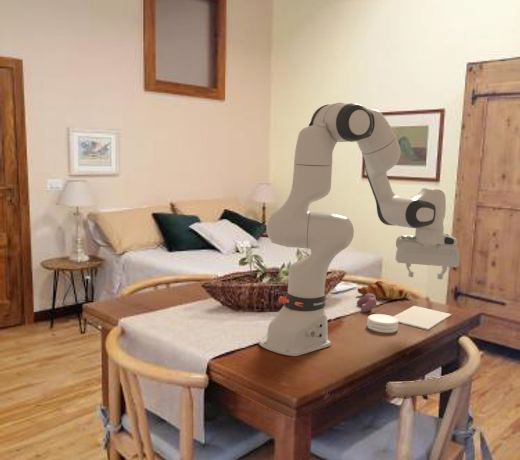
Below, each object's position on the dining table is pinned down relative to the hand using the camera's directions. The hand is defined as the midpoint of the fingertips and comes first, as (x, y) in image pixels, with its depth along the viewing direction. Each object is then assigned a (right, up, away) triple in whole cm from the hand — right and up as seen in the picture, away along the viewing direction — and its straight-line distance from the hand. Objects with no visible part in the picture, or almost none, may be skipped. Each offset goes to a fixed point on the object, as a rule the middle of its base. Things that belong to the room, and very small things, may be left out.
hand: (425, 277), depth 172 cm
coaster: (-15, -17, -2) cm, 23 cm away
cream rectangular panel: (+2, -15, +10) cm, 18 cm away
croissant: (-6, -11, +35) cm, 37 cm away
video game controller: (-16, -13, +18) cm, 28 cm away
